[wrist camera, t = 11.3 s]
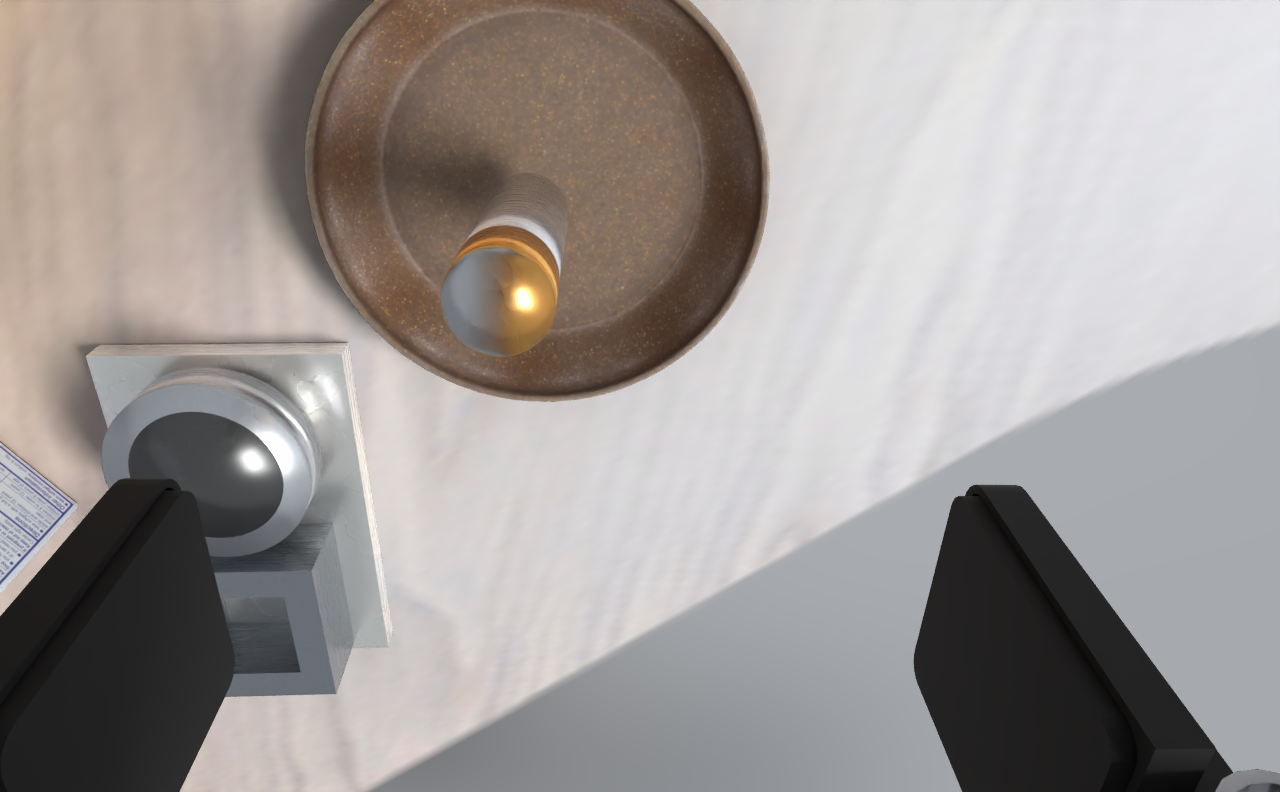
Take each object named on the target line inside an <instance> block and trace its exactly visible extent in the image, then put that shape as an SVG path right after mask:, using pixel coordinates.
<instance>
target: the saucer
mask: <svg viewBox="0 0 1280 792" xmlns="http://www.w3.org/2000/svg"><path fill="white" fill-rule="evenodd" d="M519 173H534V174H538V175H541V176H544V177H546V178H548V179H549V180H551V181H552V182H553V183H555V184H556V185H557V186H558V187H559V189H560V190H561V191H562V193H563V194H564V196H565V199H566V201H567V204H568V209H569V221H568V227H567V234H566V240H565V247H564V253H563V260H562V266H561V273H560V283H559V291H558V297H557V304H556V311H555V316H554V320H553V323H552V325H551V327H550V329H549V331H548V333H547V334H546V335H545V337H544V338H543V339H542V340H541V341H540V342H539V343H538V344H537V345H535V346H534V347H533V348H531V349H529V350H527V351H525V352H523V353H520V354H517V355H513V356H507V357H496V356H489V355H484V354H481V353H478V352H476V351H474V350H472V349H470V348H468V347H467V346H465V345H464V344H462V343H461V342H460V341H459V340H458V339H457V338H456V337H455V336H454V335H453V334H452V333H451V331H450V330H449V329H448V327H447V325H446V323H445V321H444V319H443V316H442V313H441V308H440V290H441V285H442V282H443V279H444V277H445V275H446V273H447V271H448V270H449V268H450V266H451V264H452V262H453V261H454V259H455V257H456V255H457V254H458V252H459V250H460V248H461V247H462V246H463V244H464V243H465V241H466V239H467V237H468V236H469V234H470V232H471V230H472V228H473V227H474V225H475V223H476V221H477V219H478V218H479V216H480V214H481V212H482V211H483V209H484V207H485V205H486V203H487V202H488V200H489V198H490V196H491V194H492V193H493V191H494V189H495V188H496V187H497V186H498V185H499V183H501V182H502V181H503V180H505V179H506V178H508V177H510V176H512V175H515V174H519ZM305 180H306V187H307V197H308V202H309V206H310V210H311V215H312V220H313V224H314V227H315V230H316V233H317V236H318V239H319V242H320V245H321V247H322V250H323V253H324V255H325V258H326V260H327V262H328V264H329V266H330V268H331V270H332V272H333V274H334V276H335V278H336V280H337V281H338V283H339V285H340V286H341V288H342V289H343V291H344V293H345V294H346V296H347V297H348V299H349V300H350V301H351V303H352V304H353V306H354V307H355V308H356V309H357V310H358V312H359V313H360V314H361V315H362V316H363V317H364V319H365V320H366V321H367V322H368V323H369V324H370V325H371V326H372V328H373V329H374V330H375V331H376V332H377V333H378V334H379V335H381V336H382V337H383V338H384V339H385V340H386V341H387V342H388V343H389V344H390V345H391V346H393V347H394V348H395V349H397V350H398V351H399V352H400V353H402V354H403V355H405V356H406V357H407V358H409V359H410V360H412V361H413V362H415V363H416V364H418V365H420V366H421V367H423V368H424V369H426V370H427V371H430V372H432V373H433V374H435V375H437V376H440V377H442V378H444V379H446V380H447V381H450V382H452V383H455V384H457V385H460V386H462V387H465V388H468V389H471V390H474V391H477V392H479V393H483V394H488V395H492V396H496V397H501V398H507V399H513V400H523V401H542V402H548V401H551V402H555V401H566V400H577V399H583V398H589V397H594V396H598V395H602V394H606V393H609V392H613V391H616V390H619V389H622V388H625V387H627V386H630V385H633V384H635V383H637V382H639V381H641V380H644V379H646V378H648V377H650V376H652V375H653V374H655V373H657V372H659V371H661V370H663V369H664V368H666V367H667V366H669V365H670V364H672V363H674V362H675V361H676V360H678V359H679V358H681V357H682V356H683V355H685V354H686V353H687V352H688V351H690V350H691V349H692V348H693V347H695V346H696V345H697V344H698V343H699V342H700V341H702V340H703V339H704V338H705V336H706V335H707V334H709V332H710V331H711V330H712V329H713V328H714V327H715V326H716V325H717V324H718V322H719V321H720V320H721V319H722V318H723V316H724V315H725V314H726V312H727V311H728V309H729V308H730V307H731V305H732V304H733V302H734V301H735V299H736V297H737V296H738V294H739V292H740V290H741V289H742V287H743V285H744V283H745V281H746V279H747V277H748V275H749V273H750V270H751V268H752V266H753V263H754V261H755V258H756V255H757V252H758V249H759V246H760V243H761V239H762V236H763V232H764V227H765V222H766V216H767V209H768V200H769V181H770V172H769V158H768V151H767V142H766V136H765V132H764V128H763V124H762V120H761V115H760V112H759V109H758V106H757V103H756V100H755V97H754V94H753V92H752V89H751V87H750V84H749V82H748V80H747V78H746V76H745V74H744V72H743V70H742V67H741V66H740V64H739V62H738V60H737V59H736V57H735V55H734V54H733V52H732V50H731V49H730V47H729V46H728V44H727V43H726V42H725V40H724V39H723V38H722V36H721V35H720V33H719V32H718V31H717V30H716V29H715V27H714V26H713V25H712V24H711V23H710V22H709V20H708V19H707V18H706V17H705V16H704V15H703V14H702V13H701V12H700V11H699V10H698V9H697V8H696V7H695V6H694V5H693V4H692V3H691V2H690V1H689V0H374V1H373V2H372V3H371V4H370V5H369V6H368V7H367V8H366V9H365V10H364V11H363V12H362V13H361V14H360V15H359V17H358V18H357V19H356V20H355V21H354V23H353V24H352V25H351V26H350V28H349V29H348V30H347V32H346V33H345V34H344V36H343V37H342V39H341V40H340V42H339V44H338V45H337V47H336V49H335V51H334V52H333V54H332V56H331V57H330V59H329V61H328V64H327V66H326V68H325V70H324V73H323V75H322V78H321V80H320V83H319V85H318V87H317V90H316V94H315V97H314V100H313V104H312V108H311V112H310V115H309V120H308V125H307V134H306V138H305Z"/></svg>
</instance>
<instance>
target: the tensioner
mask: <svg viewBox="0 0 1280 792" xmlns="http://www.w3.org/2000/svg"><path fill="white" fill-rule="evenodd" d="M86 359H87V362H88V366H89V369H90V372H91V375H92V379H93V382H94V385H95V388H96V392H97V395H98V398H99V402H100V405H101V408H102V411H103V415H104V418H105V421H106V424H107V428H108V430H107V432H106V434H105V437H104V441H103V444H102V453H101V459H102V469H103V473H104V477H105V480H106V483H107V485H108V488H109V489H110V488H111V486H112V485H113V484H114V483H116V482H117V481H118V480H119V479H124V478H167V479H173V480H175V481H176V482H177V483H178V484H179V486H180V488H181V490H182V491H190V492H192V494H193V495H194V497H195V499H196V502H197V506H198V510H199V514H200V518H201V522H202V526H203V530H204V534H205V538H206V542H207V546H208V550H209V554H210V558H211V562H212V566H213V570H214V574H215V578H216V582H217V586H218V590H219V594H220V598H221V602H222V606H223V610H224V614H225V618H226V622H227V626H228V630H229V634H230V638H231V642H232V646H233V651H234V656H235V668H234V675H233V679H232V682H231V685H230V687H229V689H228V691H227V694H226V696H225V697H237V696H275V695H314V694H336V693H337V690H338V687H339V684H340V681H341V679H342V676H343V673H344V670H345V667H346V664H347V661H348V658H349V655H350V652H351V649H352V648H380V647H389V643H390V640H391V636H392V633H393V628H392V622H391V615H390V609H389V602H388V596H387V589H386V583H385V576H384V570H383V563H382V557H381V550H380V544H379V537H378V531H377V524H376V518H375V511H374V505H373V498H372V492H371V485H370V479H369V472H368V466H367V459H366V453H365V446H364V440H363V433H362V427H361V420H360V414H359V407H358V401H357V394H356V388H355V381H354V375H353V368H352V362H351V355H350V349H349V343H259V344H134V345H99V346H98V347H96V348H95V349H94V350H93V351H91V352H90V353H89V354H88V355H87V356H86Z"/></svg>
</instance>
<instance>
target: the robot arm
mask: <svg viewBox="0 0 1280 792" xmlns="http://www.w3.org/2000/svg"><path fill="white" fill-rule="evenodd" d="M234 668H235V656H234V651H233V646H232V642H231V638H230V634H229V630H228V626H227V622H226V618H225V614H224V610H223V606H222V602H221V598H220V594H219V590H218V586H217V582H216V578H215V574H214V570H213V566H212V562H211V558H210V554H209V550H208V546H207V542H206V538H205V534H204V530H203V526H202V522H201V518H200V514H199V510H198V506H197V502H196V499H195V497H194V495H193V494H192V492H190V491H182V490H181V488H180V486H179V484H178V483H177V482H176V481H175V480H173V479H167V478H124V479H119V480H118V481H117V482H116V483H114V484H113V485H112V486H111V488H110V489H109V490H108V491H107V492H106V493H105V495H104V496H103V497H102V498H101V499H100V501H99V502H98V503H97V504H96V505H95V506H94V508H93V509H92V510H91V511H90V512H89V513H88V515H87V516H86V517H85V518H84V519H83V520H82V522H81V523H80V524H79V525H78V526H77V527H76V529H75V530H74V531H73V532H72V533H71V534H70V536H69V537H68V538H67V539H66V540H65V541H64V543H63V544H62V545H61V546H60V547H59V548H58V550H57V551H56V552H55V553H54V554H53V555H52V557H51V558H50V559H49V560H48V561H47V562H46V564H45V565H44V566H43V567H42V568H41V569H40V571H39V572H38V573H37V574H36V575H35V577H34V578H33V579H32V580H31V581H30V582H29V584H28V585H27V586H26V587H25V588H24V589H23V591H22V592H21V593H20V594H19V595H18V596H17V598H16V599H15V600H14V601H13V602H12V603H11V605H10V606H9V607H8V608H7V609H6V610H5V612H4V613H3V614H2V615H1V616H0V792H179V791H180V789H181V787H182V785H183V783H184V781H185V779H186V777H187V775H188V773H189V771H190V769H191V766H192V764H193V762H194V760H195V758H196V756H197V754H198V752H199V750H200V748H201V746H202V744H203V741H204V739H205V737H206V735H207V733H208V731H209V729H210V727H211V725H212V723H213V721H214V719H215V716H216V714H217V712H218V710H219V708H220V706H221V704H222V702H223V700H224V698H225V696H226V694H227V691H228V689H229V687H230V685H231V682H232V679H233V675H234ZM914 671H915V676H916V680H917V683H918V686H919V688H920V690H921V693H922V695H923V698H924V700H925V703H926V705H927V707H928V710H929V712H930V715H931V717H932V720H933V722H934V724H935V727H936V729H937V731H938V734H939V737H940V739H941V741H942V744H943V746H944V748H945V751H946V753H947V756H948V758H949V760H950V763H951V765H952V768H953V770H954V773H955V775H956V777H957V780H958V782H959V785H960V787H961V789H962V792H1280V773H1277V772H1271V771H1265V770H1259V769H1255V770H1245V771H1237V772H1235V773H1233V772H1232V770H1231V769H1230V767H1229V766H1228V765H1227V763H1226V762H1225V761H1224V759H1223V758H1222V757H1221V755H1220V754H1219V753H1218V752H1217V750H1216V748H1215V746H1214V745H1213V743H1212V742H1211V741H1210V740H1209V738H1208V737H1207V735H1206V734H1205V733H1204V731H1203V730H1202V729H1201V727H1200V726H1199V725H1198V723H1197V722H1196V721H1195V719H1194V718H1193V716H1192V715H1191V714H1190V713H1189V711H1188V710H1187V708H1186V707H1185V706H1184V704H1183V703H1182V702H1181V700H1180V699H1179V698H1178V696H1177V695H1176V693H1175V692H1174V691H1173V689H1172V688H1171V687H1170V685H1169V684H1168V683H1167V681H1166V680H1165V679H1164V677H1163V676H1162V675H1161V673H1160V672H1159V671H1158V669H1157V668H1156V666H1155V665H1154V664H1153V662H1152V661H1151V660H1150V658H1149V657H1148V656H1147V654H1146V653H1145V652H1144V650H1143V649H1142V647H1141V646H1140V645H1139V643H1138V642H1137V641H1136V639H1135V638H1134V637H1133V635H1132V634H1131V633H1130V631H1129V630H1128V629H1127V627H1126V626H1125V625H1124V623H1123V622H1122V620H1121V619H1120V618H1119V616H1118V615H1117V614H1116V612H1115V611H1114V610H1113V608H1112V607H1111V606H1110V604H1109V603H1108V602H1107V600H1106V599H1105V597H1104V596H1103V595H1102V593H1101V592H1100V591H1099V589H1098V588H1097V587H1096V585H1095V584H1094V583H1093V581H1092V580H1091V579H1090V577H1089V576H1088V574H1087V573H1086V572H1085V570H1084V569H1083V568H1082V566H1081V565H1080V564H1079V562H1078V561H1077V560H1076V558H1075V557H1074V556H1073V554H1072V553H1071V551H1070V550H1069V549H1068V547H1067V546H1066V545H1065V543H1064V542H1063V541H1062V539H1061V538H1060V537H1059V535H1058V534H1057V533H1056V531H1055V530H1054V529H1053V527H1052V526H1051V525H1050V523H1049V522H1048V520H1047V519H1046V518H1045V516H1044V515H1043V514H1042V512H1041V511H1040V510H1039V508H1038V507H1037V506H1036V504H1035V503H1034V502H1033V500H1032V499H1031V497H1030V496H1029V495H1028V493H1027V492H1026V491H1025V490H1024V489H1023V488H1022V487H1021V486H1017V485H973V486H971V487H970V488H969V490H968V491H967V492H966V495H965V496H958V497H956V498H955V499H954V501H953V503H952V506H951V509H950V513H949V518H948V521H947V525H946V529H945V533H944V537H943V541H942V545H941V549H940V553H939V557H938V561H937V565H936V569H935V573H934V577H933V581H932V585H931V589H930V593H929V597H928V601H927V604H926V609H925V613H924V616H923V620H922V624H921V629H920V633H919V636H918V641H917V644H916V648H915V653H914Z"/></svg>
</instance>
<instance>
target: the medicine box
mask: <svg viewBox="0 0 1280 792" xmlns="http://www.w3.org/2000/svg"><path fill="white" fill-rule="evenodd" d="M77 508H78V505H77V503H76V502H74V501H73V500H72V499H70V498H69V497H68V496H67V495H65V494H64V493H63V492H62V491H60V490H59V489H58V488H57V487H55V486H54V485H53V484H52V483H50V482H49V481H48V480H47V479H45V478H44V477H43V476H41V475H40V474H39V473H38V472H37V471H35V470H34V469H33V468H32V467H30V466H29V465H28V464H27V463H25V462H24V461H23V460H22V459H20V458H19V457H18V456H17V455H15V454H14V453H13V452H12V451H10V450H9V449H8V448H7V447H5V446H4V445H3V444H2V443H0V593H1V592H2V591H3V590H4V589H5V588H6V586H7V585H8V584H9V583H10V582H11V581H12V580H13V579H14V578H15V577H16V576H17V574H18V573H19V572H20V571H21V570H22V569H23V568H24V567H25V566H26V564H27V563H28V562H29V561H30V560H31V559H32V558H33V556H34V555H35V554H36V553H37V552H38V551H39V550H40V548H41V547H42V546H43V545H44V544H45V543H46V542H47V541H48V540H49V538H50V537H51V536H52V535H53V534H54V533H55V532H56V531H57V530H58V529H59V528H60V526H61V525H62V524H63V523H64V522H65V521H66V520H67V519H68V518H69V517H70V516H71V515H72V514H73V513H74V512H75V510H76V509H77Z"/></svg>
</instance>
